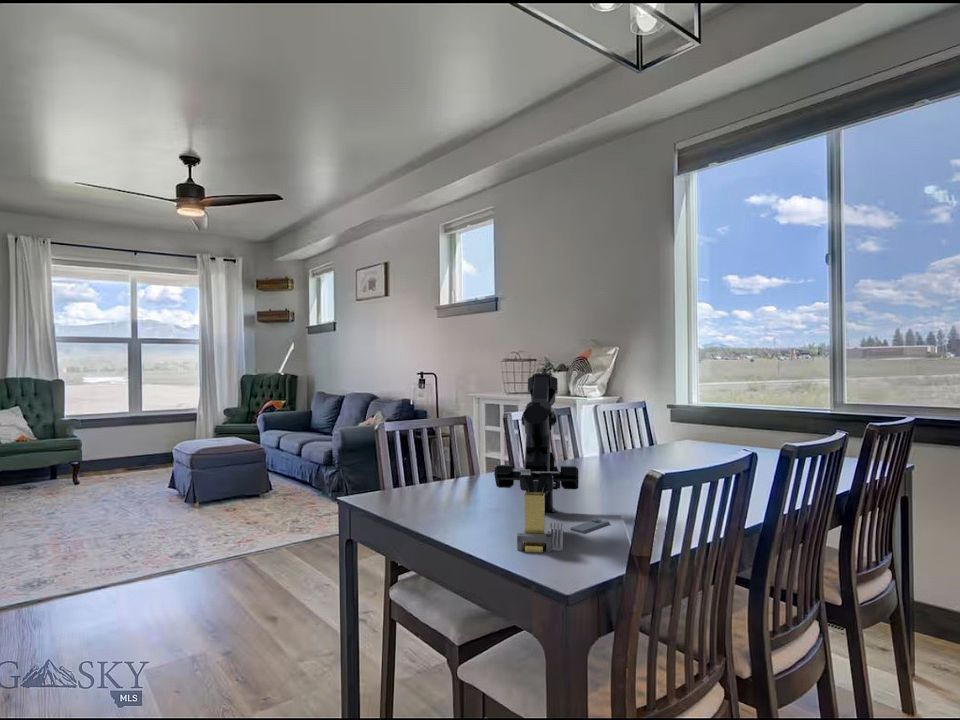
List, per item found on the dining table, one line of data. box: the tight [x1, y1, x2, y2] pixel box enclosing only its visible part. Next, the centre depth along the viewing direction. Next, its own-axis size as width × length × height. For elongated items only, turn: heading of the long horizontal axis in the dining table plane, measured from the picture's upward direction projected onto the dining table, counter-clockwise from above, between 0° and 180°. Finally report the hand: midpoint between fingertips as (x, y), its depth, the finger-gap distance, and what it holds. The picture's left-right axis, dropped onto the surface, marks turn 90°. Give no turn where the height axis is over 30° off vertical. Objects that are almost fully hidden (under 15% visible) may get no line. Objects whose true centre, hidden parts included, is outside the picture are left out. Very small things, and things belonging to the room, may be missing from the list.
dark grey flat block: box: [570, 518, 611, 534], centre depth 138 cm, size 4×10×2 cm, turn 133°
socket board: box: [516, 522, 564, 553], centre depth 128 cm, size 16×12×4 cm
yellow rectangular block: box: [524, 491, 546, 553], centre depth 123 cm, size 6×4×11 cm, turn 171°
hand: (535, 510), depth 127 cm, fingers closed, pressing on yellow rectangular block
